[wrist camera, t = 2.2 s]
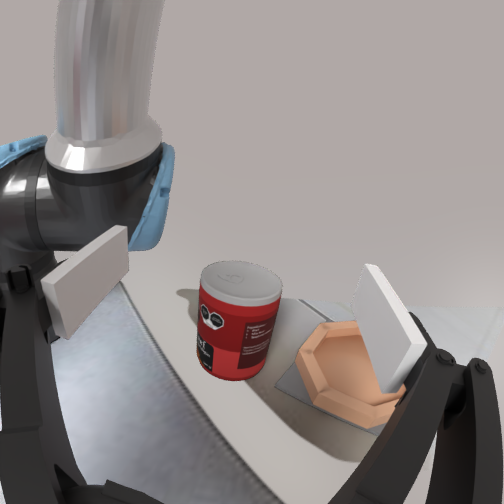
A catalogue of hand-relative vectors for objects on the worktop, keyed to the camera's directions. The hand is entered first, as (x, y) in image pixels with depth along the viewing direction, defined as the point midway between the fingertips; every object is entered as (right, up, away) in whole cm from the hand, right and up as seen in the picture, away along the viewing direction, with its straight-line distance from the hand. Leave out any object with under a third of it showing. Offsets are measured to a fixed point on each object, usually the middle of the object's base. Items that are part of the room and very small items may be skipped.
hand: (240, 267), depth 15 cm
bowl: (+14, -14, +16) cm, 26 cm away
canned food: (-2, -12, +17) cm, 21 cm away
